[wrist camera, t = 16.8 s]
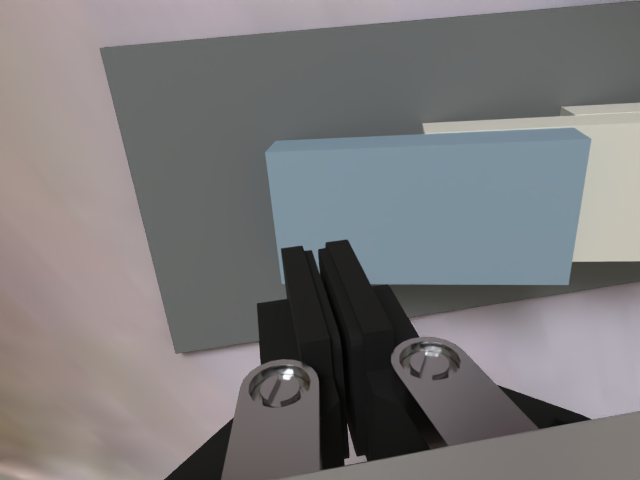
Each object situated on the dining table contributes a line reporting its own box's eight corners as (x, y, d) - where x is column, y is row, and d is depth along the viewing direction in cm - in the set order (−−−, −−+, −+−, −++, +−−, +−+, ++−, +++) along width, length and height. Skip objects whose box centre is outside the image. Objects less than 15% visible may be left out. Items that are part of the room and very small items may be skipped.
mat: (890, -22, 19) (906, -23, 19) (790, 251, 24) (801, 256, 24) (103, 47, 16) (99, 48, 15) (177, 346, 21) (175, 353, 20)
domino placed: (275, 140, 17) (573, 127, 16) (289, 263, 19) (554, 263, 18) (265, 152, 16) (591, 138, 14) (281, 283, 18) (568, 285, 16)
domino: (422, 123, 18) (724, 107, 16) (421, 244, 20) (688, 241, 18) (424, 133, 17) (755, 117, 15) (423, 262, 19) (713, 261, 17)
